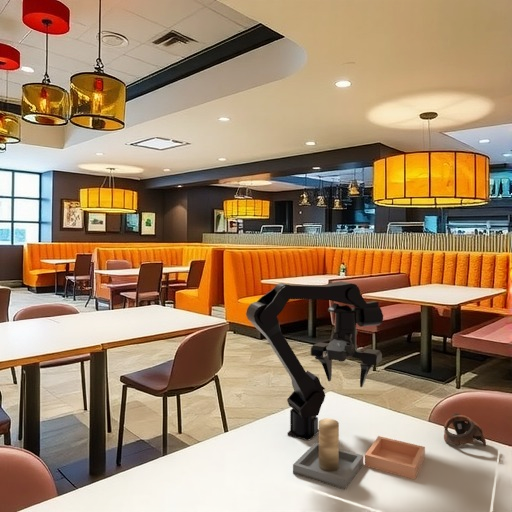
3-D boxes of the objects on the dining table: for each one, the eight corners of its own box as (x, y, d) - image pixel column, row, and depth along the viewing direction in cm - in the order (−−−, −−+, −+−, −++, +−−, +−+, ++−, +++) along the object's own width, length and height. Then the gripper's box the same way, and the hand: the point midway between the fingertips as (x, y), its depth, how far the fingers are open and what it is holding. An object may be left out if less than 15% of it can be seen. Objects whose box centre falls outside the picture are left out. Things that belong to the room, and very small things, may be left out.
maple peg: (315, 468, 99) (315, 424, 99) (323, 459, 103) (323, 417, 102) (334, 473, 97) (334, 428, 96) (341, 464, 100) (341, 421, 100)
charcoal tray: (293, 475, 98) (293, 464, 98) (315, 452, 108) (315, 442, 108) (344, 491, 92) (345, 480, 91) (363, 466, 102) (363, 455, 102)
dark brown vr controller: (496, 455, 108) (484, 430, 106) (459, 469, 109) (447, 444, 107) (474, 422, 119) (463, 399, 117) (440, 435, 121) (429, 412, 119)
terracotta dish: (364, 467, 101) (364, 454, 101) (378, 447, 110) (378, 436, 110) (414, 481, 95) (415, 467, 95) (424, 459, 105) (425, 446, 105)
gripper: (302, 329, 120) (301, 386, 120) (370, 337, 110) (369, 399, 111) (318, 322, 129) (318, 375, 130) (382, 329, 119) (382, 386, 120)
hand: (345, 383), depth 122 cm, fingers open, 9 cm apart
